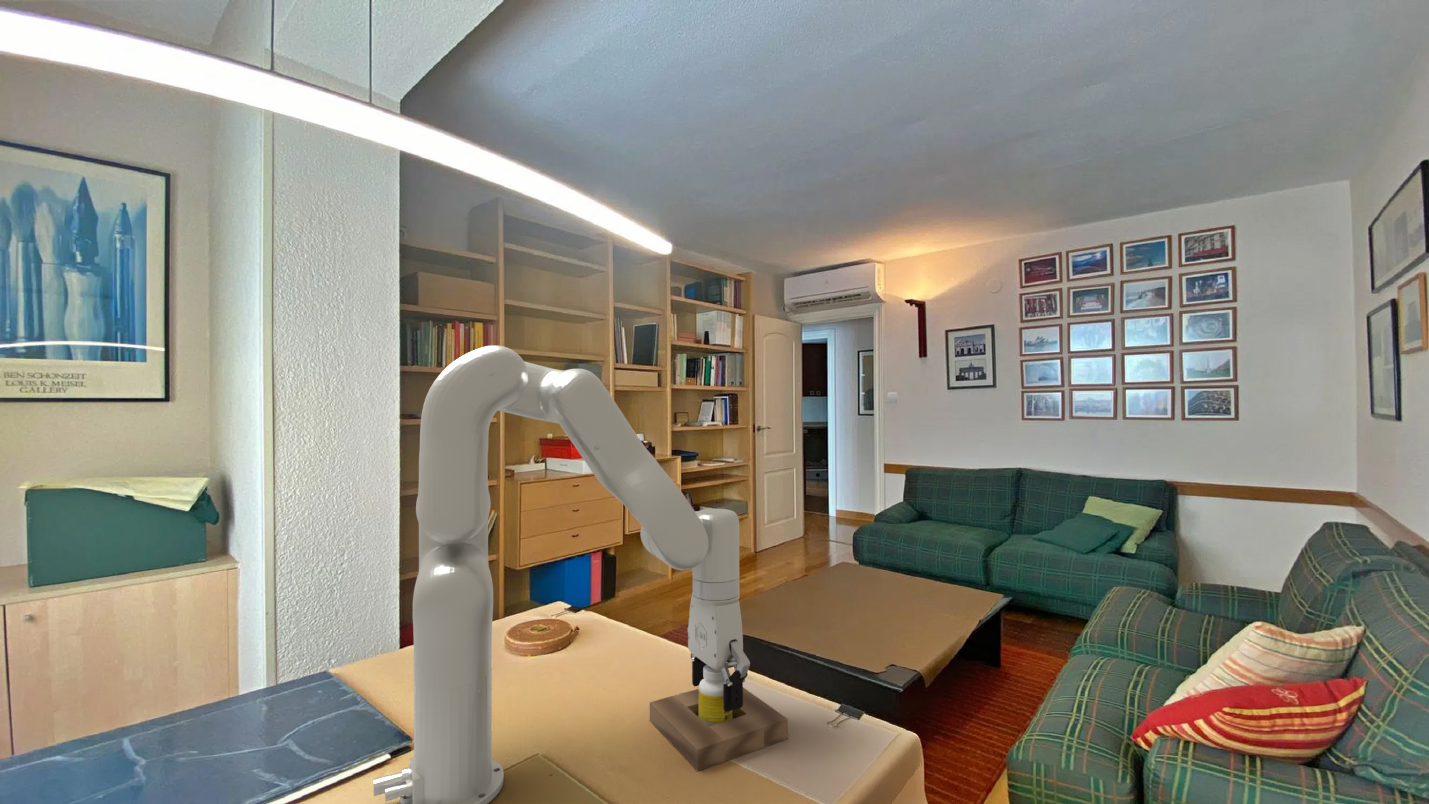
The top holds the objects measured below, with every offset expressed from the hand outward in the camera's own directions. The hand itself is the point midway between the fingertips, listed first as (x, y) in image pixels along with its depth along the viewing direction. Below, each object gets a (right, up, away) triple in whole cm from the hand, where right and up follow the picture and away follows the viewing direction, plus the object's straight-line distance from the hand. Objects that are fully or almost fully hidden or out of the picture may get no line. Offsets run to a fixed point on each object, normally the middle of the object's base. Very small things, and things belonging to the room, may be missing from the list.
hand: (716, 695), depth 94 cm
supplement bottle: (0, -6, 0) cm, 6 cm away
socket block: (0, -5, 0) cm, 5 cm away
